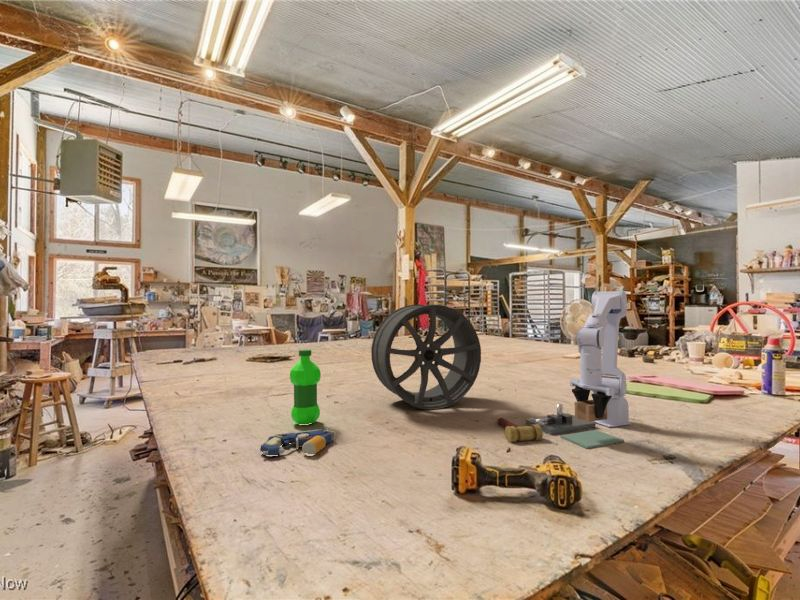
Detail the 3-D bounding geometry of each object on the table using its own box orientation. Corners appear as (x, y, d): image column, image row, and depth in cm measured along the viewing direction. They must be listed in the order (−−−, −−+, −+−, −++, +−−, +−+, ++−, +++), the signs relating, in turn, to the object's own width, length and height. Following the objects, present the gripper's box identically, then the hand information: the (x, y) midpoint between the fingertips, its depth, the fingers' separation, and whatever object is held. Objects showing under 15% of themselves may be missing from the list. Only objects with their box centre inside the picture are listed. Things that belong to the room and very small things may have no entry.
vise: (567, 417, 142) (567, 397, 142) (595, 427, 130) (595, 406, 130) (524, 424, 135) (523, 403, 135) (549, 435, 124) (549, 412, 124)
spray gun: (340, 454, 110) (333, 438, 124) (339, 439, 110) (332, 424, 125) (259, 466, 104) (261, 447, 119) (258, 449, 104) (261, 432, 119)
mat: (596, 431, 126) (595, 429, 126) (623, 442, 117) (623, 439, 117) (560, 437, 121) (560, 435, 121) (586, 448, 112) (586, 446, 112)
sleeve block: (592, 414, 123) (592, 399, 123) (607, 419, 118) (607, 403, 118) (574, 417, 120) (574, 401, 120) (588, 421, 116) (588, 406, 116)
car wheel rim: (385, 414, 148) (384, 305, 148) (371, 402, 166) (370, 304, 166) (481, 404, 160) (480, 304, 161) (458, 394, 179) (457, 303, 179)
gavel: (483, 413, 137) (510, 411, 139) (483, 427, 137) (511, 425, 139) (510, 428, 117) (542, 426, 119) (511, 444, 116) (543, 442, 118)
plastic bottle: (283, 426, 135) (283, 351, 135) (302, 417, 145) (302, 347, 145) (309, 429, 131) (308, 352, 131) (326, 420, 141) (326, 348, 141)
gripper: (562, 366, 125) (562, 410, 125) (600, 373, 111) (601, 423, 111) (579, 364, 127) (580, 408, 127) (619, 372, 114) (620, 420, 114)
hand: (591, 415), depth 119 cm, fingers closed on sleeve block, 5 cm apart
